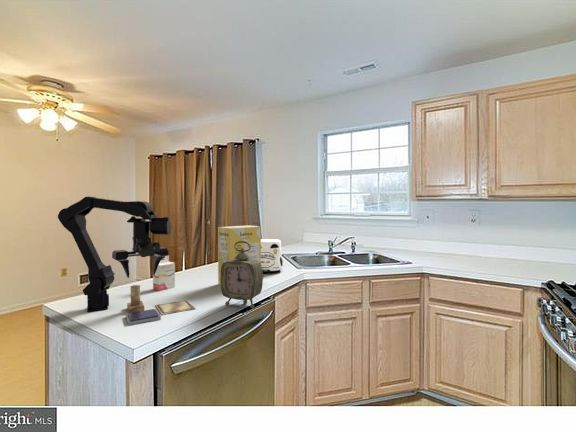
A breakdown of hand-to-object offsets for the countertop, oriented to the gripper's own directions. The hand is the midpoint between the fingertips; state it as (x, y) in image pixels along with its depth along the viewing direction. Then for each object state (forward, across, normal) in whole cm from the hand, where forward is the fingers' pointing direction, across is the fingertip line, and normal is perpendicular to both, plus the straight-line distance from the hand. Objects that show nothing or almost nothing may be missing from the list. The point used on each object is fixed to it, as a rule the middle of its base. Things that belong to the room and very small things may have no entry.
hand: (141, 275), depth 120 cm
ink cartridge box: (+12, +17, +22) cm, 30 cm away
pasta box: (+12, +49, +7) cm, 51 cm away
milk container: (+11, +76, +20) cm, 80 cm away
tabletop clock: (+12, +30, -23) cm, 40 cm away
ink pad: (+12, -3, -12) cm, 17 cm away
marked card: (+12, +10, -8) cm, 17 cm away
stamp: (+12, -2, -1) cm, 12 cm away
